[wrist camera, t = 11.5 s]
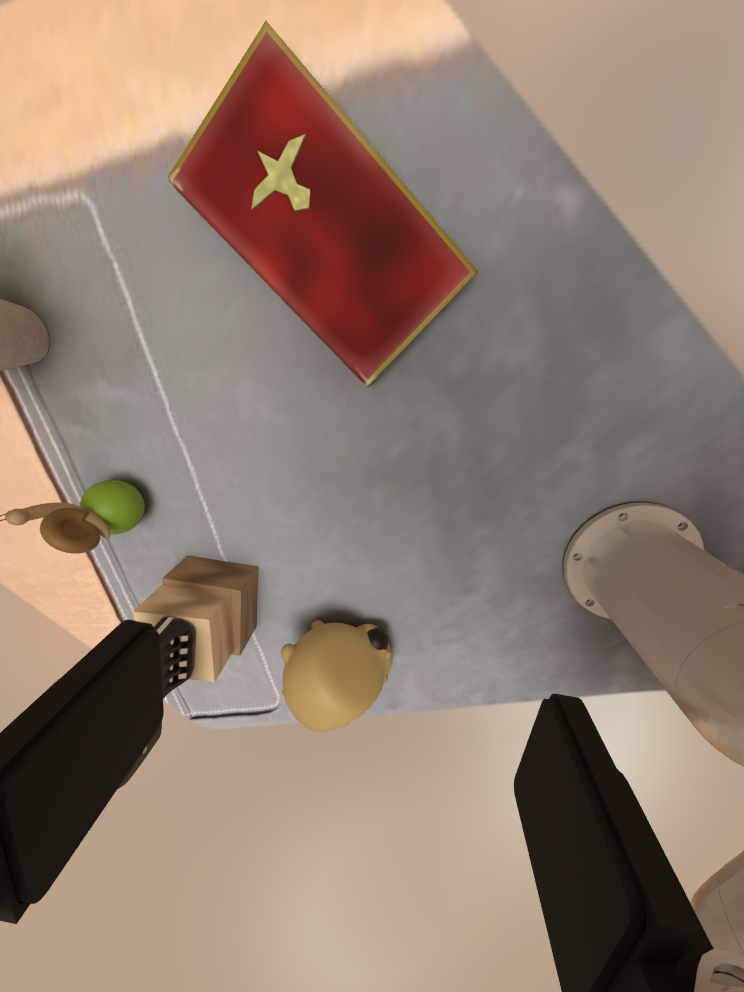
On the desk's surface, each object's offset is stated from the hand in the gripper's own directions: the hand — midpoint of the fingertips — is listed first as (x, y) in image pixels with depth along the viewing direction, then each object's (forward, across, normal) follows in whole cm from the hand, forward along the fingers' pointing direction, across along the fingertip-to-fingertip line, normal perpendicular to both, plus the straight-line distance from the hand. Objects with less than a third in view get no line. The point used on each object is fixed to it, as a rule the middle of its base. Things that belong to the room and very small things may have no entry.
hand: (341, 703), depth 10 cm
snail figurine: (+30, +27, +10) cm, 42 cm away
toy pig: (+31, +2, +24) cm, 39 cm away
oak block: (+25, +17, +20) cm, 36 cm away
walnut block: (+30, +17, +20) cm, 40 cm away
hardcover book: (+31, +8, -16) cm, 36 cm away
